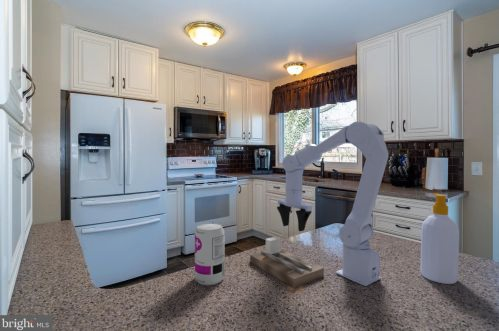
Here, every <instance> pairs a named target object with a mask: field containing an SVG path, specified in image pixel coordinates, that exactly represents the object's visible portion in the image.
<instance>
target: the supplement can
mask: <svg viewBox="0 0 499 331" xmlns="http://www.w3.org/2000/svg"><path fill="white" fill-rule="evenodd" d="M225 233H226V231H225V229H224V228H223V225H222V224H220V223H216V222H206V223H201V224H198V225H197V226H196V229H195V231H194V280H195V281H196V282H197V284H200V285H202V286H213V285H214V286H215V285H218V284H220V283H221V282H222V280H224V278H225V272H226V271H225V264H226V263H225V262H226V261H225V259H226V258H225V255H226V254H225V251H226V249H225V245H226V244H225V239H226V238H225V236H226V235H225Z"/></svg>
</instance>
